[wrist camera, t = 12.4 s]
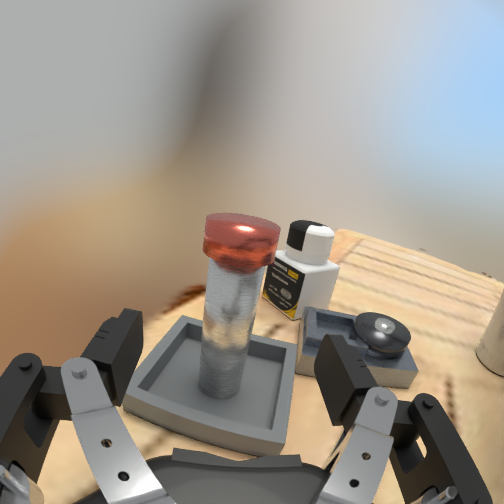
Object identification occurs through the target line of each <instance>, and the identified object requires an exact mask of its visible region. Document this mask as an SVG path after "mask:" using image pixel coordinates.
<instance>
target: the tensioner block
mask: <svg viewBox="0 0 504 504" xmlns="http://www.w3.org/2000/svg"><path fill="white" fill-rule="evenodd" d="M325 334H339V335H343V337H344V338H345V340H346V342H347V344H348V345H351V346H352V347H354V348H355V349H356V350H357V351H358V352H359V353H360V355H361V357H362V358H363V361H364V362H365V363H366V365H367V367H368V369H369V370H370V372H371V374H372V375H373V377H374V379H375V381H376V382H377V384H378V386H385V387H396V388H409V386H410V384H411V383H412V381H413V380H414V378H415V376H416V375H417V373H418V369H417V367H416V364H415V362H414V360H413V358H412V355H411V353H410V351H409V349H408V347H407V346H408V344H409V342H410V339H411V335H410V332H409V331H408V329H407V328H406V327H405V326H404V325H403V324H402V323H400V322H399V321H397V320H395V319H393V318H391V317H389V316H386V315H383V314H379V313H373V312H366V313H362V314H359V315H358V316H355V315H349V314H344V313H339V312H334V311H329V310H325V309H320V308H315V307H310V306H308V307H304V310H303V314H302V317H301V321H300V327H299V339H298V349H297V360H296V369H295V373H296V374H301V375H307V376H312V377H316V376H315V373H314V362H315V358H316V356H317V353H318V350H319V348H320V345H321V342H322V340H323V337H324V336H325Z"/></svg>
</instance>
